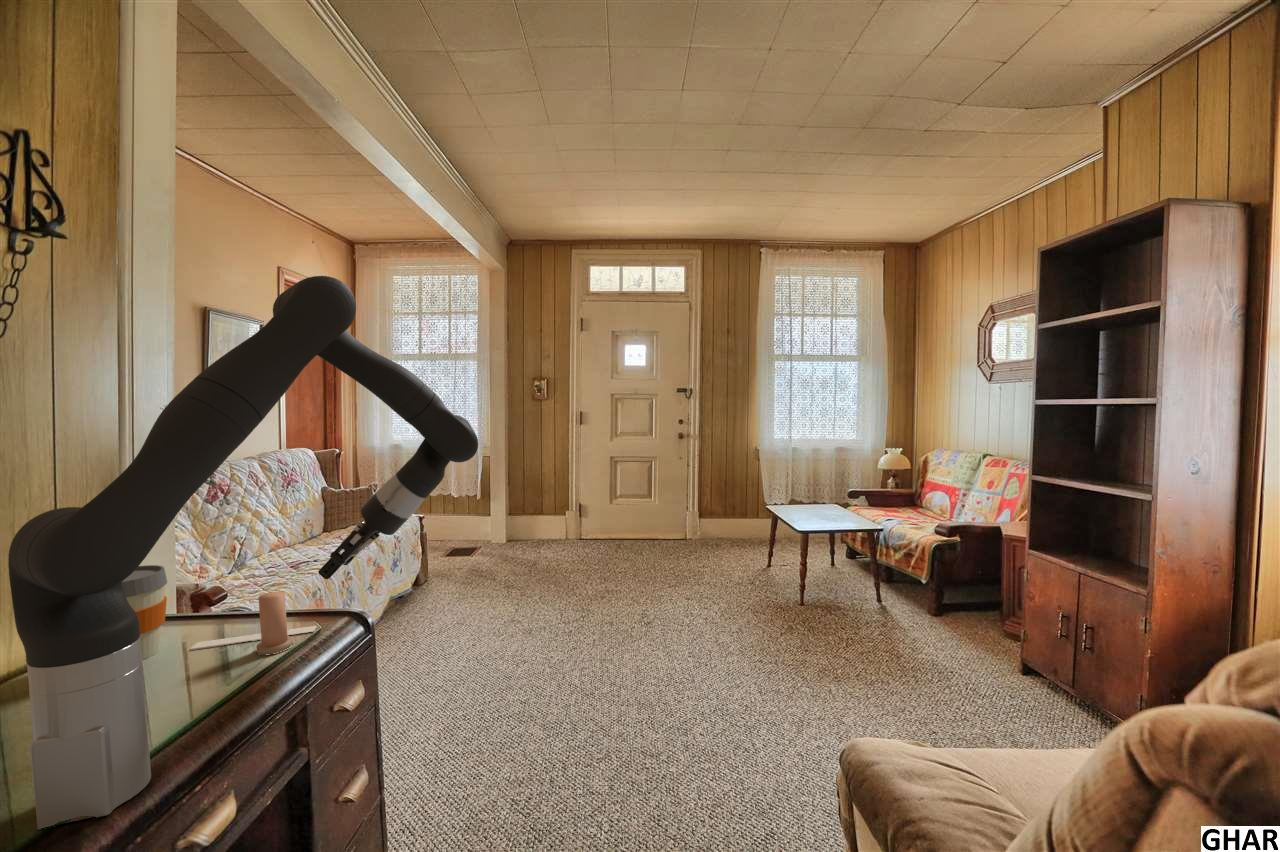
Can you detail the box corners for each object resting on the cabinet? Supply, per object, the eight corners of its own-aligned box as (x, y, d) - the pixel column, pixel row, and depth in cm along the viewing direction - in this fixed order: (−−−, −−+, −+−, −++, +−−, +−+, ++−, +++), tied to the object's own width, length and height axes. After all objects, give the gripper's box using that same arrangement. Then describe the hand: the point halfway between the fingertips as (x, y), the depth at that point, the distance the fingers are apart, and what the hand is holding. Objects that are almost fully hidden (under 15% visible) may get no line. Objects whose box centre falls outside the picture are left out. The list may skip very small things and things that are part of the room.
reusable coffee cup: (159, 663, 99) (153, 578, 99) (64, 680, 94) (56, 591, 93) (181, 636, 111) (175, 561, 110) (96, 651, 105) (90, 571, 105)
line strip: (313, 632, 110) (312, 631, 110) (190, 650, 104) (190, 648, 104) (316, 627, 113) (316, 625, 113) (197, 644, 107) (196, 642, 107)
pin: (288, 652, 102) (285, 597, 101) (252, 658, 100) (248, 602, 100) (296, 640, 107) (293, 588, 107) (262, 645, 105) (258, 592, 105)
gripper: (390, 484, 112) (332, 545, 111) (365, 496, 98) (298, 566, 97) (419, 509, 113) (362, 570, 112) (398, 525, 99) (333, 595, 98)
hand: (332, 568), depth 104 cm, fingers open, 8 cm apart
